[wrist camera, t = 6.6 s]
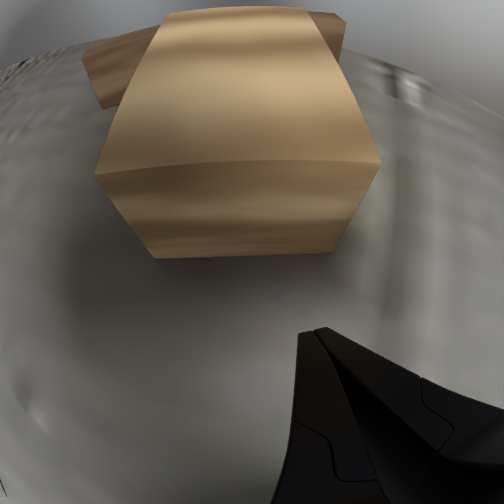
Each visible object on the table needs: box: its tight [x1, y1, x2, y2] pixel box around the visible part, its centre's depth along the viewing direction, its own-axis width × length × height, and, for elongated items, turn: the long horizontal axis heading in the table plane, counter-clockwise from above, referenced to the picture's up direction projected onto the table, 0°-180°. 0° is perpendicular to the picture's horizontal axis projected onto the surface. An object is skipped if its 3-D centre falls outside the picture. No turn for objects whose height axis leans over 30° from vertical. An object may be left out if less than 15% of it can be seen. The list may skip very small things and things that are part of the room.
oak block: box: [94, 6, 381, 259], centre depth 16 cm, size 16×10×8 cm, turn 2°
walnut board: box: [81, 12, 346, 109], centre depth 20 cm, size 2×22×6 cm, turn 102°
